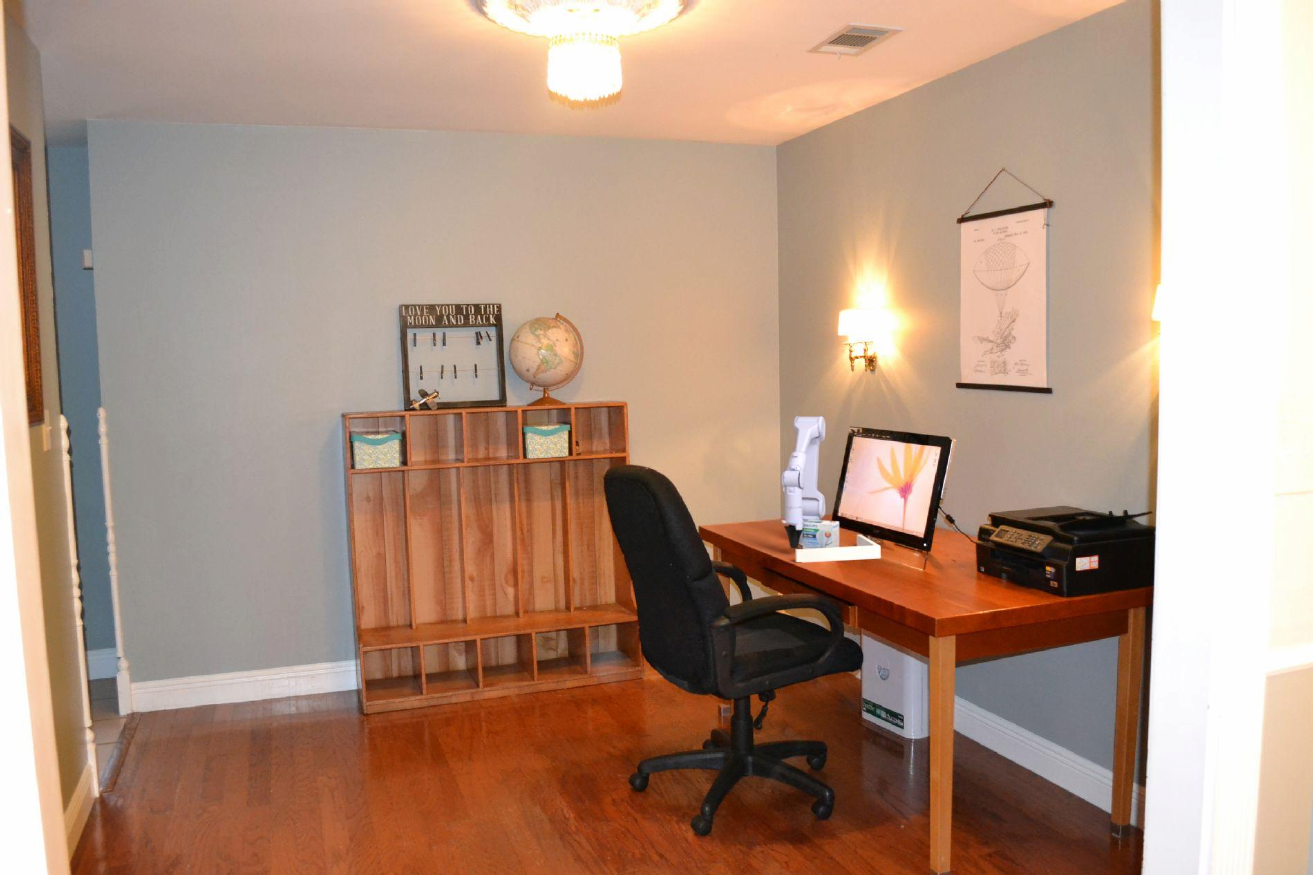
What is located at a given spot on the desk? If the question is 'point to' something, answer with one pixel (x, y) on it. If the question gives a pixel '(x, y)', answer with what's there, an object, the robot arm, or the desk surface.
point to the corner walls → (841, 552)
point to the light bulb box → (820, 534)
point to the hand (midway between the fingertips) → (794, 547)
